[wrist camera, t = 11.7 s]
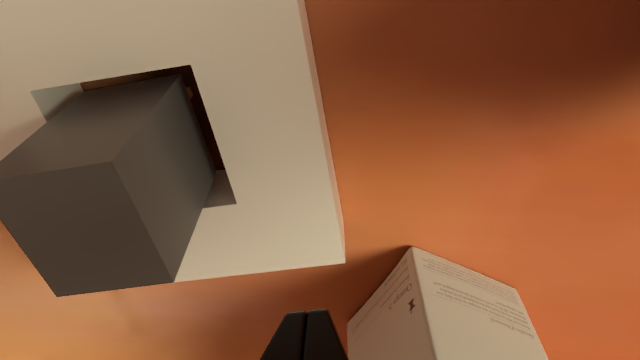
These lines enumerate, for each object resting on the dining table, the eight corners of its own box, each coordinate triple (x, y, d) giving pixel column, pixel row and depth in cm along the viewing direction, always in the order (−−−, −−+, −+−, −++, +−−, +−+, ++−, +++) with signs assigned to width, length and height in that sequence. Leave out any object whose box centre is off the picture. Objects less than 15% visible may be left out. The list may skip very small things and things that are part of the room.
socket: (287, -97, 15) (276, -92, 12) (343, 221, 23) (345, 275, 20) (-80, -24, 17) (-176, -3, 13) (87, 253, 24) (51, 308, 21)
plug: (190, 61, 18) (112, 161, 12) (223, 154, 21) (173, 282, 14) (100, 77, 19) (-27, 183, 12) (142, 167, 21) (56, 296, 14)
